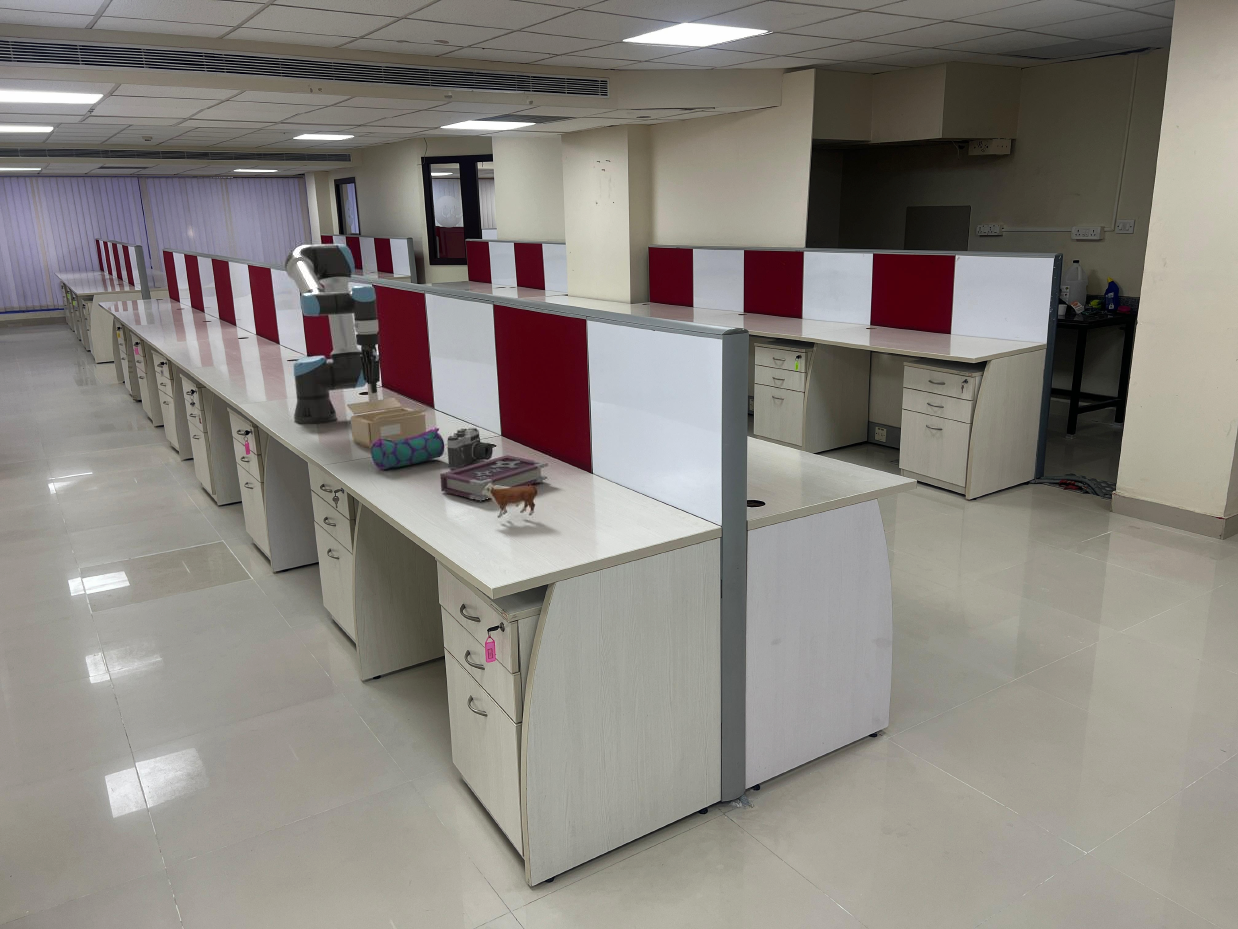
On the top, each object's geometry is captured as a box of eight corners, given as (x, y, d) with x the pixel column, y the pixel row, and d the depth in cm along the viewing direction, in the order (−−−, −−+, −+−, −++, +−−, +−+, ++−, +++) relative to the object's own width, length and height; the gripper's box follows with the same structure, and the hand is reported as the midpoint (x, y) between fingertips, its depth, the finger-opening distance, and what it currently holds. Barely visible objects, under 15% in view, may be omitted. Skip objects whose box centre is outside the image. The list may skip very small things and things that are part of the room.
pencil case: (386, 473, 259) (383, 441, 257) (371, 467, 265) (368, 436, 263) (447, 460, 273) (444, 429, 270) (431, 455, 279) (429, 425, 277)
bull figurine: (483, 513, 220) (481, 481, 218) (538, 510, 221) (536, 479, 219) (482, 518, 216) (480, 486, 213) (538, 516, 217) (536, 484, 215)
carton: (351, 442, 298) (349, 416, 295) (407, 432, 310) (405, 407, 308) (371, 450, 287) (368, 423, 284) (428, 439, 299) (426, 413, 297)
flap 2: (421, 413, 296) (428, 409, 291) (373, 420, 285) (380, 416, 281) (420, 411, 296) (428, 407, 291) (372, 419, 285) (379, 415, 281)
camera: (475, 470, 260) (473, 437, 258) (445, 467, 263) (443, 435, 261) (499, 457, 274) (498, 425, 272) (470, 455, 278) (468, 424, 275)
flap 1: (354, 414, 296) (346, 405, 300) (401, 407, 307) (393, 398, 310) (354, 413, 296) (346, 404, 300) (401, 406, 307) (393, 397, 310)
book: (481, 501, 231) (480, 483, 230) (441, 491, 241) (439, 473, 239) (548, 479, 250) (547, 462, 249) (508, 471, 260) (507, 454, 258)
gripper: (348, 332, 300) (355, 401, 306) (364, 335, 290) (371, 405, 296) (369, 330, 304) (375, 398, 310) (386, 333, 295) (392, 402, 301)
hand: (373, 401), depth 303 cm, fingers closed
